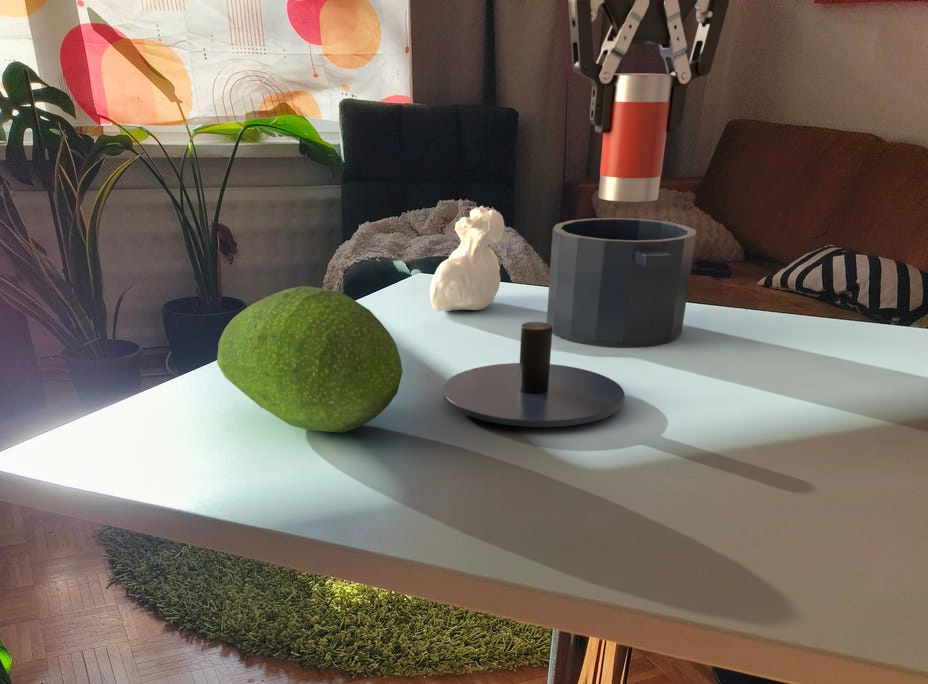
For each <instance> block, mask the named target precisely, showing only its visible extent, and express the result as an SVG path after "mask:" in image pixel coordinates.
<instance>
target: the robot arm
mask: <svg viewBox="0 0 928 684" xmlns="http://www.w3.org/2000/svg"><path fill="white" fill-rule="evenodd" d="M567 3H568V15H569V16H568V17H569V18H568V19H569V33H570V47H571V62H572V63H571V64H572V71H573V73H574V74H575V75H579V76H581V77H583V78H584V79H585V78H586V79H588V80H589V82H590V83H591V94H590V95H591V96H590V107H589V121H590V125H592V126H594V132H595V133H597V134H598V133H599V134H603V133H608V132H609V128H610V118H611V107H612V97H613V86H614V85H610V81H611V80H612V78H613V76H614V74H616V71H617V69H618V67H619V65H620V63H621V60H622V59H623V58H624V57H625V55H626V54H627V51H628V49H629V47H630V45H641V44H643V43H644V44H648V45H657V46H658V50H659V54H660V57H661V58H662V59H663V63H664V67H665V70H666V74H672V75H673V78H672V86H671V94H670V107H669V116H668V124H667V132H666V134H674V133H675V132H676V129H677V126H681V124H682V122H683V118H684V111H685V103H686V98H687V97H686V96H687V88H688V86H689V84H690V82H691V81H693V80H695V79H697V78H699V77H706V76H707V75H709V74H710V73H711V69H712V67H713V62H714V59H715V55H716V52H717V48H718V44H719V41H720V37H721V33H722V31H723V26H724V22H725V19H726V15H727V11H728V9H729V4H730V0H568V2H567ZM601 6H602V8H603V11H604V13H605V15H606V17H607V18H608V21H609V23H610V27H609V29H608V31H607V34H606V36H605V38H604V40H603V42H602V44H601V47H600V53H599V54H598V55H599V56H598V58H597V60H596V61H595V59H594V40H593V39H594V38H593V22H594V21H595V20H596V19H597V17H598V12H599V8H600V7H601ZM694 8H695V12H696V13H695V19H696V22H697V23H698V26H697V30H696V34H695V37H694V41H693V45H692V49H691V53H690V57H689V59H688V54H687V53H688V52H687V51H688V43H687V40H686V35H685V31H684V26H683V24H684V22H686V20H687V18H688V16H689V15H690V14H691V12H692V10H693V9H694Z"/></svg>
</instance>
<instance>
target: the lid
mask: <svg viewBox="0 0 928 684" xmlns="http://www.w3.org/2000/svg"><path fill="white" fill-rule="evenodd" d="M520 327H521V328H520V346H519V347H520V348H519V362H512V363H511V362H510V363H497V364H490V365H484V366H483V365H482V366H479V367H474V368H471V369H466V370H464V371H461V372H459V373H456V374H455V375H453V376H450V378H448V379H447V380H446V381H445V383H444V384H443V386H442V397H443V400H444V401H445V403H446V405H448V406H449V407H450V408H452V409H453V410H455V411H456V412H458V413H461V414H463V415H465V416H467V417H471V418H473V419H476V420H481V421H483V422H484V421H485V422H488V423H494V424H498V425H505V426H515V427H526V428H528V427H529V428H557V427H569V426H576V425H583V424H589V423H592V422H596V421H599V420H602V419H605V418H608V417H610V416H612V415H614V414H616V413H617V412H618V411H620V409H621V408H622V407H623V406H624V404H625V398H626V396H625V394H626V392H625V391H624V389H623V387H622V386H621V385H620V384H619V383H618V382H616V381H615V380H613V379H612V378H609V377H608V376H605V375H603V374H600V373H597V372H594V371H592V370H588V369H584V368H579V367H575V366H569V365H562V364H555V363H554V364H553V363H551V356H552V355H551V353H552V352H551V351H552V342H553V341H552V340H553V333H552V325H551V324H548V323H547V322H543V321H530V322H529V321H528V322H525V323H522V324H521V326H520Z"/></svg>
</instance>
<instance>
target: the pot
mask: <svg viewBox="0 0 928 684" xmlns="http://www.w3.org/2000/svg"><path fill="white" fill-rule="evenodd" d="M696 237H697V230H696V229H695V228H692V227H689V226H688V225H684V224H679V223H675V222H671V221H665V220H663V221H662V220H655V219H644V218H626V217H601V218H600V217H599V218H597V217H595V218H594V217H593V218H583V219H571V220H566V221H563V222H559V223H555V225H554V226H553V228H552V234H551V250H550V265H549V267H550V268H549V279H548V280H549V281H548V294H547V296H548V298H547V309H546V310H547V311H546V323H548V324H551V325H552V335H554V336H556V337H559V338H560V339H564V340H567V341H569V342H574V343H577V344H583V345H590V346H599V347H606V348H608V347H609V348H611V347H612V348H644V347H651V346H658V345H664V344H667V343H671V342H673V341H675V340H677V339H678V338H680V337H681V334H682V332H683V327H684V321H685V320H684V319H685V313H686V306H687V299H688V293H689V286H690V285H689V284H690V278H691V271H692V267H693V266H692V264H693V257H694V251H695V245H696Z"/></svg>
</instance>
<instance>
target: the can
mask: <svg viewBox="0 0 928 684" xmlns="http://www.w3.org/2000/svg"><path fill="white" fill-rule="evenodd" d="M672 78H673V75H672V74H667V73H615V74H614V76H613V78H612V80H611V81H610V85H614V86H613V97H612V107H611V118H610V128H609V132H608V133H602V134H603V135H602V143H601V144H602V146H601V155H600V167H599V185H598V196H597V197H598V199H600V200H602V201H605V202H606V201H607V202H613V203H614V202H615V203H631V204H633V203H635V204H636V203H651V202H656V201H658V200H659V194H660V193H659V191H660V185H661V178H662V177H661V176H662V173H663V164H664V156H665V148H666V141H667V133H666V132H667V124H668V116H669V107H670V94H671V86H672Z"/></svg>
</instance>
